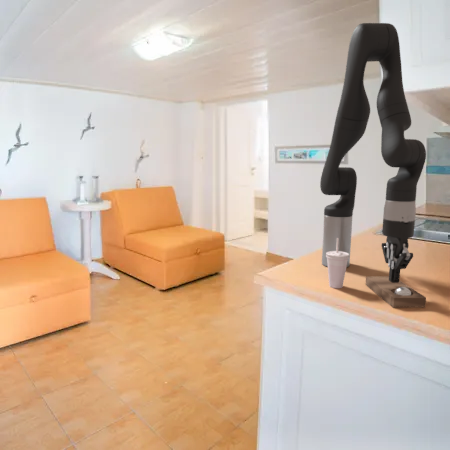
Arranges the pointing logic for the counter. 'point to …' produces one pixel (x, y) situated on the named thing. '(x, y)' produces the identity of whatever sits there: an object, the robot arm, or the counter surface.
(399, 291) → the ball
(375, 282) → the brown ball holder
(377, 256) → the counter surface
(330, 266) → the smoothie
